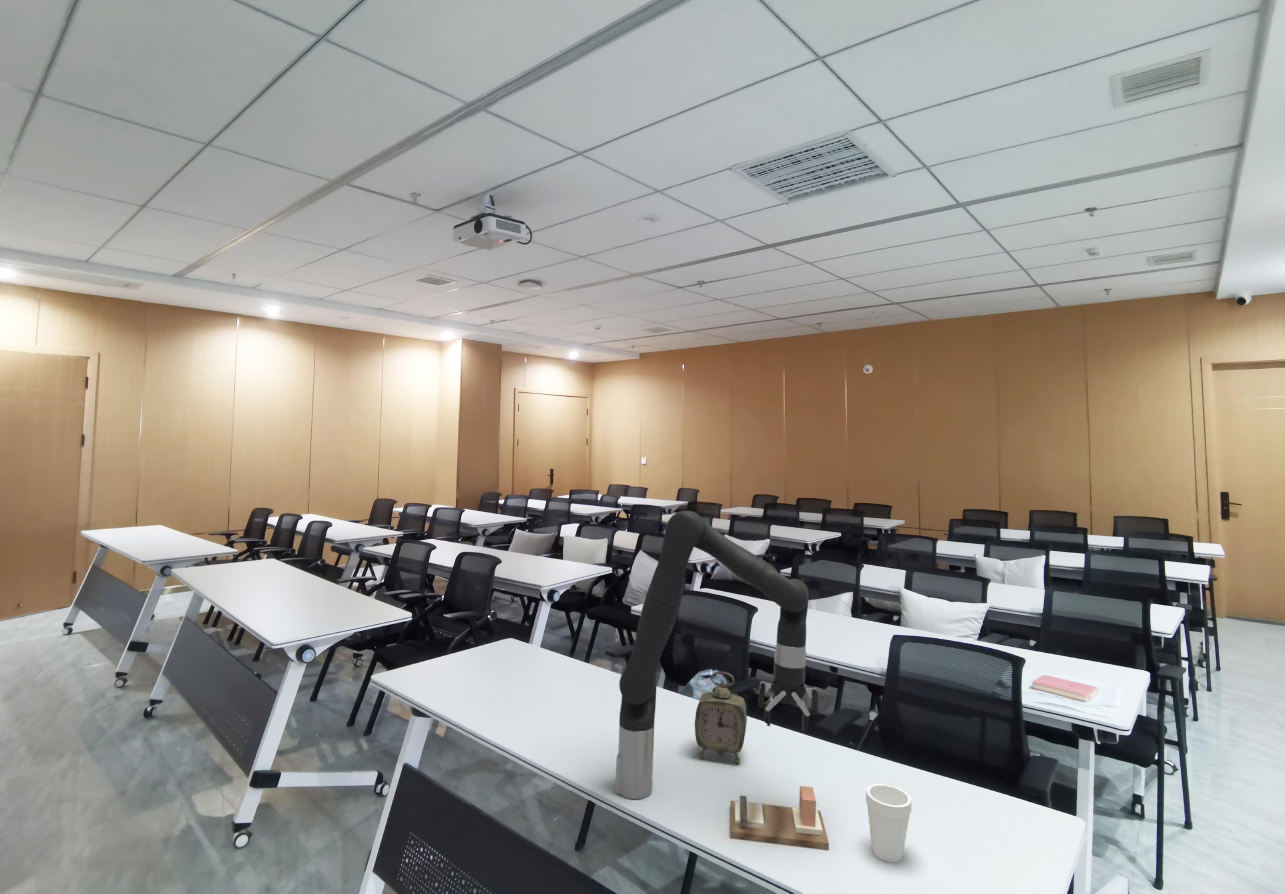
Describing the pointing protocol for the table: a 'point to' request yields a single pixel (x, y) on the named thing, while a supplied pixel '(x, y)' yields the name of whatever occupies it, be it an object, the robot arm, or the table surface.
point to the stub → (807, 813)
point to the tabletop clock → (721, 720)
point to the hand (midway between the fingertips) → (786, 727)
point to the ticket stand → (771, 825)
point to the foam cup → (888, 820)
